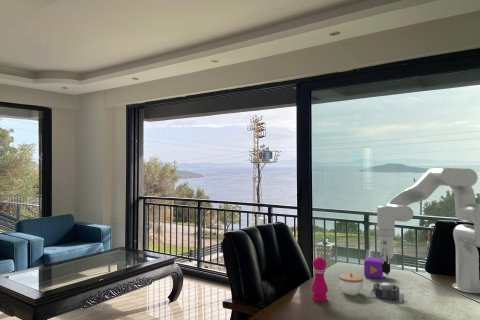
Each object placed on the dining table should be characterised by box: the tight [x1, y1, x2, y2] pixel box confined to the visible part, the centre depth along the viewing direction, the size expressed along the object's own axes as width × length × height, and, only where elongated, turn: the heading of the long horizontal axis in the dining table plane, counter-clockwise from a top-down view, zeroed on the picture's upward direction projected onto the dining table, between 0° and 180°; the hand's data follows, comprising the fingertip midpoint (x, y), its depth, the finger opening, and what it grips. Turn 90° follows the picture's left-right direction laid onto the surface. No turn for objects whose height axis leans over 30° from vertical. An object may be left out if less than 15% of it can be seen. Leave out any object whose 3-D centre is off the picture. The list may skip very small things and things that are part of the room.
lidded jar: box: [339, 272, 364, 296], centre depth 167 cm, size 11×11×9 cm
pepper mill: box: [310, 254, 329, 302], centre depth 159 cm, size 7×7×20 cm
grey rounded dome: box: [378, 282, 394, 290], centre depth 164 cm, size 6×6×4 cm
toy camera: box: [363, 255, 389, 280], centre depth 194 cm, size 11×14×10 cm
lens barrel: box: [368, 282, 405, 304], centre depth 164 cm, size 14×12×4 cm
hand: (386, 271), depth 164 cm, fingers closed
